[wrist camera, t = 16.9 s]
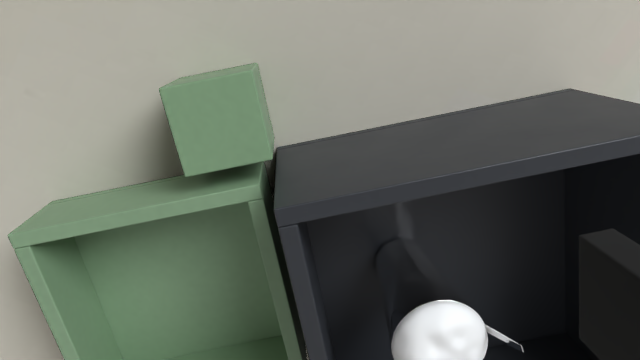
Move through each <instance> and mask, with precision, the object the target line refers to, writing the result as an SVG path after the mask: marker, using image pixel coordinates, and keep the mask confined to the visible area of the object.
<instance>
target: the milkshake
mask: <svg viewBox="0 0 640 360" xmlns="http://www.w3.org/2000/svg"><path fill="white" fill-rule="evenodd" d="M375 273H376V277H377V282H378V286H379V291H380V295H381V299H382V304H383V308H384V312H385V317H386V323H387V328H388V334H389V339H390V345H391V350H392V355H393V358H394V360H483V359H484V357H485V354H486V351H487V347H488V335H487V332H488V333H490V334H491V335H493V336H495V337H497V338H498V339H500V340H502V341H504V342H505V343H507V344H509V345H510V346H512V347H514V348H516V349H517V350H519V351H521V352H524V351H523V347H522V345H521V344H520V343H518V342H516V341H514V340H512V339H511V338H509V337H507V336H505V335H504V334H502V333H500V332H498V331H496V330H495V329H493V328H491V327H489V326H487V325H486V324H484V322H483V320H482V318H481V317H480V316H479V314H478V313H477V312H476V311H475V310H474V309H473V308H472V307H471V306H470V304H469V303H468V302H467V301H466V300H465V299H464V298H463V297H462V296H461V294H460V293H459V292H458V291H457V290H456V289H455V288H454V287H453V286H452V285H451V284H450V283H449V282H448V281H447V280H446V279H445V278H444V276H443V275H442V274H441V273H440V271H439V270H438V269H437V268H436V266H435V265H434V264H433V263H432V262H431V260H430V259H429V258H428V257H427V255H426V254H425V253H424V252H423V251H422V249H421V248H420V247H419V246H418V245H417V243H416V242H415V241H410V240H405V239H401V238H398V239H396V240H393V241H391V242H388V243H385V244H384V245H383V246H382V248H381V249H380V250H379V252H378V253H377V254H376V256H375Z"/></svg>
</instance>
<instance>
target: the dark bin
mask: <svg viewBox="0 0 640 360" xmlns="http://www.w3.org/2000/svg"><path fill="white" fill-rule="evenodd" d="M274 215H275V219H276V223H277V226H278V231H279V235H280V239H281V244H282V248H283V252H284V256H285V260H286V264H287V269H288V273H289V277H290V281H291V285H292V290H293V294H294V298H295V302H296V306H297V310H298V315H299V319H300V323H301V327H302V331H303V335H304V340H305V344H306V348H307V352H308V356H309V360H394V358H393V355H392V350H391V345H390V339H389V334H388V328H387V323H386V317H385V312H384V308H383V304H382V299H381V295H380V291H379V286H378V282H377V277H376V273H375V256H376V254H377V253H378V252H379V250H380V249H381V248H382V246H383V245H384V244H385V243H388V242H391V241H393V240H396V239H398V238H401V239H405V240H410V241H415V242H416V243H417V245H418V246H419V247H420V248H421V249H422V251H423V252H424V253H425V254H426V255H427V257H428V258H429V259H430V260H431V262H432V263H433V264H434V265H435V266H436V268H437V269H438V270H439V271H440V273H441V274H442V275H443V276H444V278H445V279H446V280H447V281H448V282H449V283H450V284H451V285H452V286H453V287H454V288H455V289H456V290H457V291H458V292H459V293H460V294H461V296H462V297H463V298H464V299H465V300H466V301H467V302H468V303H469V304H470V306H471V307H472V308H473V309H474V310H475V311H476V312H477V313H478V314H479V316H480V317H481V318H482V320H483V322H484V324H486V325H487V326H489V327H491V328H493V329H495V330H496V331H498V332H500V333H502V334H504V335H505V336H507V337H509V338H511V339H512V340H514V341H516V342H518V343H520V344H521V345H522V347H523V351H524V352H521V351H519V350H517V349H516V348H514V347H512V346H510V345H509V344H507V343H505V342H504V341H502V340H500V339H498V338H497V337H495V336H493V335H491V334H490V333H488V332H487V335H488V347H487V351H486V354H485V357H484V359H483V360H599V359H598V358H597V356H596V355H595V354H594V353H593V352H592V351H591V350H590V349H589V348H588V347H587V346H586V345H585V344H584V343H583V342H582V341H581V340H580V339H579V235H583V234H588V233H593V232H598V231H602V230H607V229H612V228H613V229H615V230H616V231H618V232H620V233H621V234H623V235H624V236H626V237H628V238H629V239H631V240H633V241H634V242H636V243H637V244H639V245H640V104H638V103H633V102H629V101H624V100H620V99H615V98H610V97H606V96H601V95H597V94H592V93H588V92H583V91H578V90H574V89H566V90H561V91H556V92H551V93H546V94H541V95H536V96H531V97H526V98H521V99H516V100H511V101H506V102H501V103H496V104H491V105H486V106H481V107H476V108H471V109H466V110H461V111H456V112H451V113H446V114H441V115H436V116H431V117H426V118H421V119H416V120H411V121H407V122H402V123H397V124H392V125H387V126H382V127H377V128H372V129H367V130H362V131H357V132H352V133H347V134H342V135H337V136H332V137H327V138H322V139H317V140H312V141H307V142H302V143H297V144H292V145H287V146H282V147H278V148H277V155H276V173H275V192H274Z"/></svg>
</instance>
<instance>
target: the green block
mask: <svg viewBox="0 0 640 360" xmlns="http://www.w3.org/2000/svg"><path fill="white" fill-rule="evenodd" d="M159 92H160V96H161V99H162V102H163V106H164V109H165V112H166V116H167V119H168V122H169V126H170V129H171V132H172V136H173V139H174V142H175V146H176V149H177V152H178V156H179V159H180V162H181V166H182V169H183V172H184V175H185V177H190V176H194V175H199V174H204V173H209V172H214V171H219V170H224V169H229V168H234V167H239V166H244V165H249V164H254V163H259V162H264V161H269V160H272V159H273V149H274V134H273V130H272V125H271V121H270V116H269V112H268V108H267V103H266V99H265V94H264V90H263V85H262V81H261V77H260V72H259V68H258V64H257V63H253V64H248V65H243V66H238V67H233V68H228V69H223V70H218V71H213V72H208V73H203V74H198V75H193V76H188V77H182V78H179V79H177V80H175V81H173V82H171V83H169V84H167V85H165V86H163V87H161V88H159Z"/></svg>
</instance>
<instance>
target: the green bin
mask: <svg viewBox="0 0 640 360" xmlns="http://www.w3.org/2000/svg"><path fill="white" fill-rule="evenodd" d="M8 238H9V240H10V242H11V244H12V246H13V248H14V249H15V253H16V255H17V257H18V259H19V261H20V264H21V266H22V268H23V270H24V272H25V275H26V277H27V279H28V281H29V283H30V285H31V288H32V290H33V292H34V294H35V296H36V299H37V301H38V303H39V305H40V307H41V310H42V312H43V314H44V316H45V318H46V321H47V323H48V325H49V327H50V329H51V332H52V334H53V336H54V338H55V340H56V342H57V345H58V347H59V349H60V351H61V353H62V356H63V358H64V360H307V357H306V344H305V340H304V335H303V331H302V327H301V323H300V319H299V315H298V310H297V306H296V302H295V298H294V294H293V290H292V285H291V281H290V277H289V273H288V269H287V264H286V260H285V256H284V252H283V248H282V244H281V239H280V235H279V231H278V226H277V223H276V219H275V215H274V202H273V198H272V193H271V189H270V185H269V181H268V176H267V172H266V168H265V164H264V162H259V163H254V164H249V165H244V166H239V167H234V168H229V169H224V170H219V171H214V172H209V173H204V174H199V175H194V176H190V177H185V175H181V176H176V177H171V178H166V179H161V180H156V181H151V182H146V183H141V184H136V185H131V186H126V187H121V188H116V189H111V190H106V191H101V192H96V193H91V194H86V195H81V196H77V197H72V198H67V199H62V200H57V201H52V202H51V203H49V204H48V205H47V206H45V207H44V208H43V209H41V210H40V211H39V212H37V213H36V214H35V215H33V216H32V217H31V218H29V219H28V220H27V221H26V222H24V223H23V224H22V225H20V226H19V227H18V228H16V229H15V230H14V231H12V232H11V233H10V234H8Z"/></svg>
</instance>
